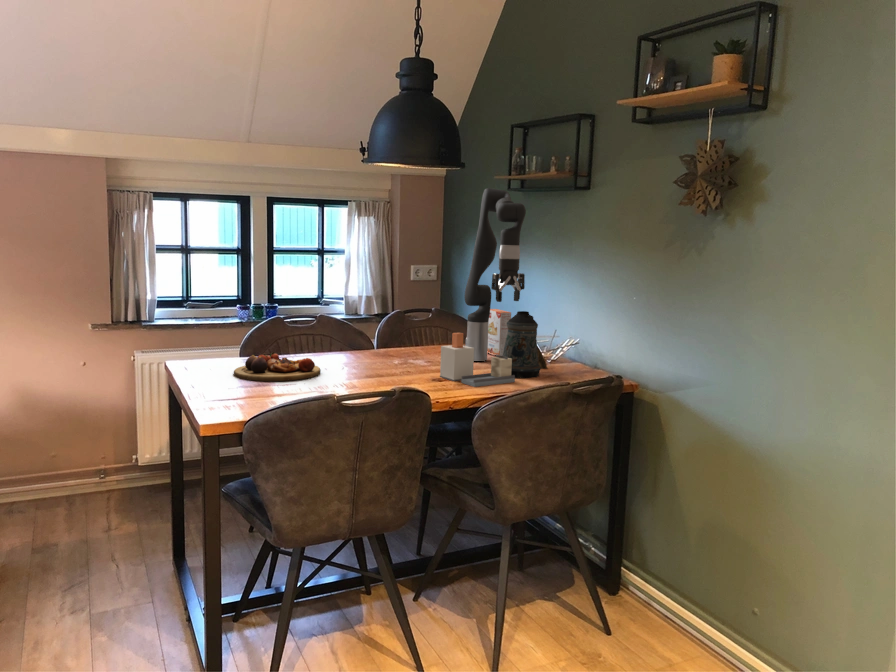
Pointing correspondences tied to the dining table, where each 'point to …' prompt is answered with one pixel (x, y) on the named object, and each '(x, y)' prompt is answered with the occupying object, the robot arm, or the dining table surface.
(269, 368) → the wooden plate with food
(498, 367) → the carriage
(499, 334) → the cracker box
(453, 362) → the light grey hollow box
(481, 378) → the rail
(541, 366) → the rock
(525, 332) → the beer stein
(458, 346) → the orange dimpled block
